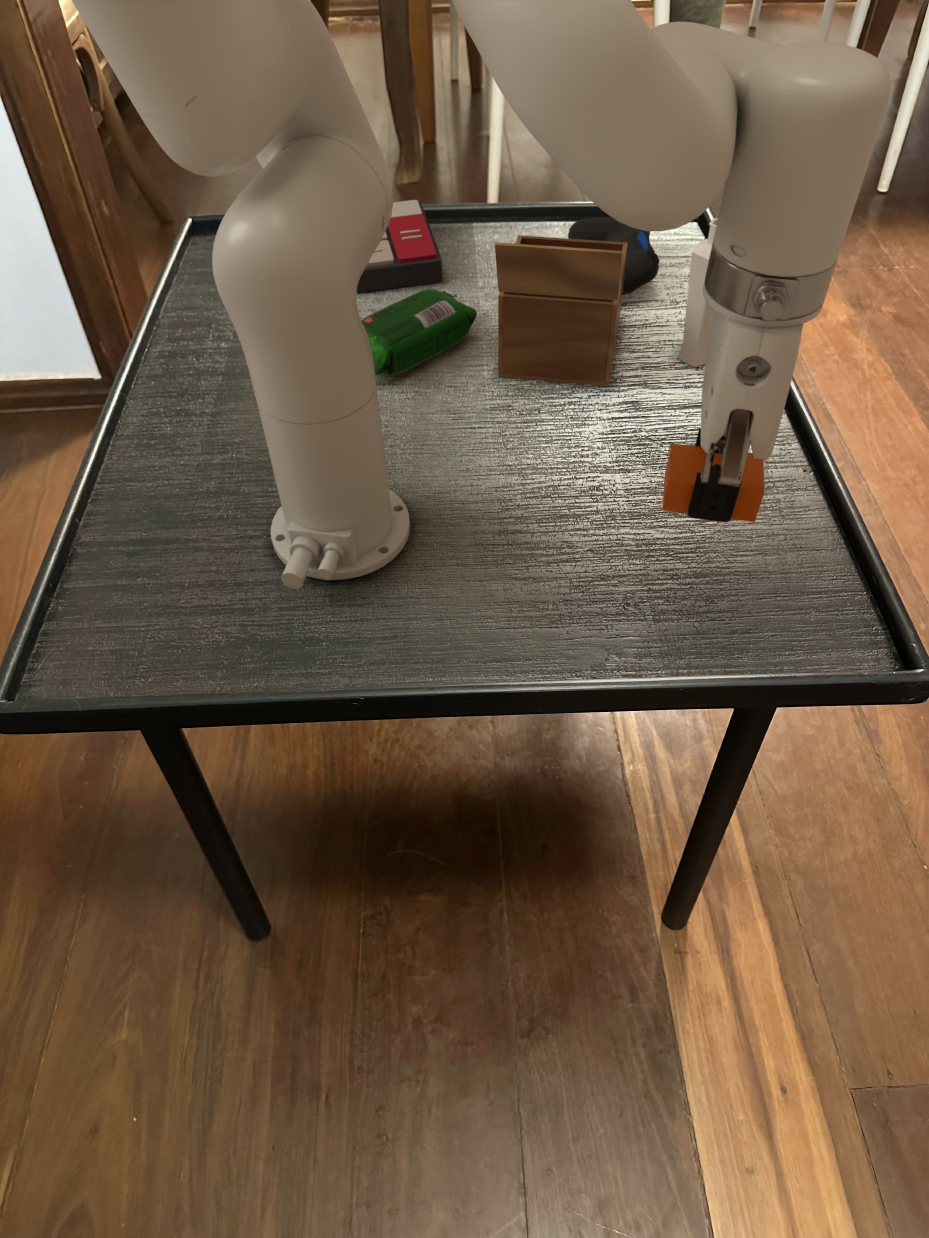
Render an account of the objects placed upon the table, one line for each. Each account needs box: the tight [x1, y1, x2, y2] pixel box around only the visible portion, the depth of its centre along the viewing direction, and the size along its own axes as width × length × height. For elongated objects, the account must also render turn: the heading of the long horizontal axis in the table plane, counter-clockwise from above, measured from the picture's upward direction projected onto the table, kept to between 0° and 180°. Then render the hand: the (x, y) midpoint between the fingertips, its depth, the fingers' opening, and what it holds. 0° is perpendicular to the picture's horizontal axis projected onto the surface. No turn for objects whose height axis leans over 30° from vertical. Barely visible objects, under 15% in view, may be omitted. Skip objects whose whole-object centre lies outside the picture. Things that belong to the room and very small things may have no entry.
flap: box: [494, 242, 622, 301], centre depth 88 cm, size 6×12×1 cm
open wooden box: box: [497, 234, 628, 387], centre depth 99 cm, size 13×12×10 cm
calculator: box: [357, 199, 443, 294], centre depth 116 cm, size 11×4×15 cm
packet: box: [661, 443, 765, 523], centre depth 70 cm, size 4×7×3 cm, turn 79°
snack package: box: [361, 288, 478, 377], centre depth 101 cm, size 7×16×5 cm, turn 131°
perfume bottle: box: [676, 217, 718, 368], centre depth 95 cm, size 5×4×15 cm
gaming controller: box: [567, 216, 660, 296], centre depth 111 cm, size 17×6×10 cm
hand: (709, 493), depth 71 cm, fingers closed on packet, 4 cm apart
